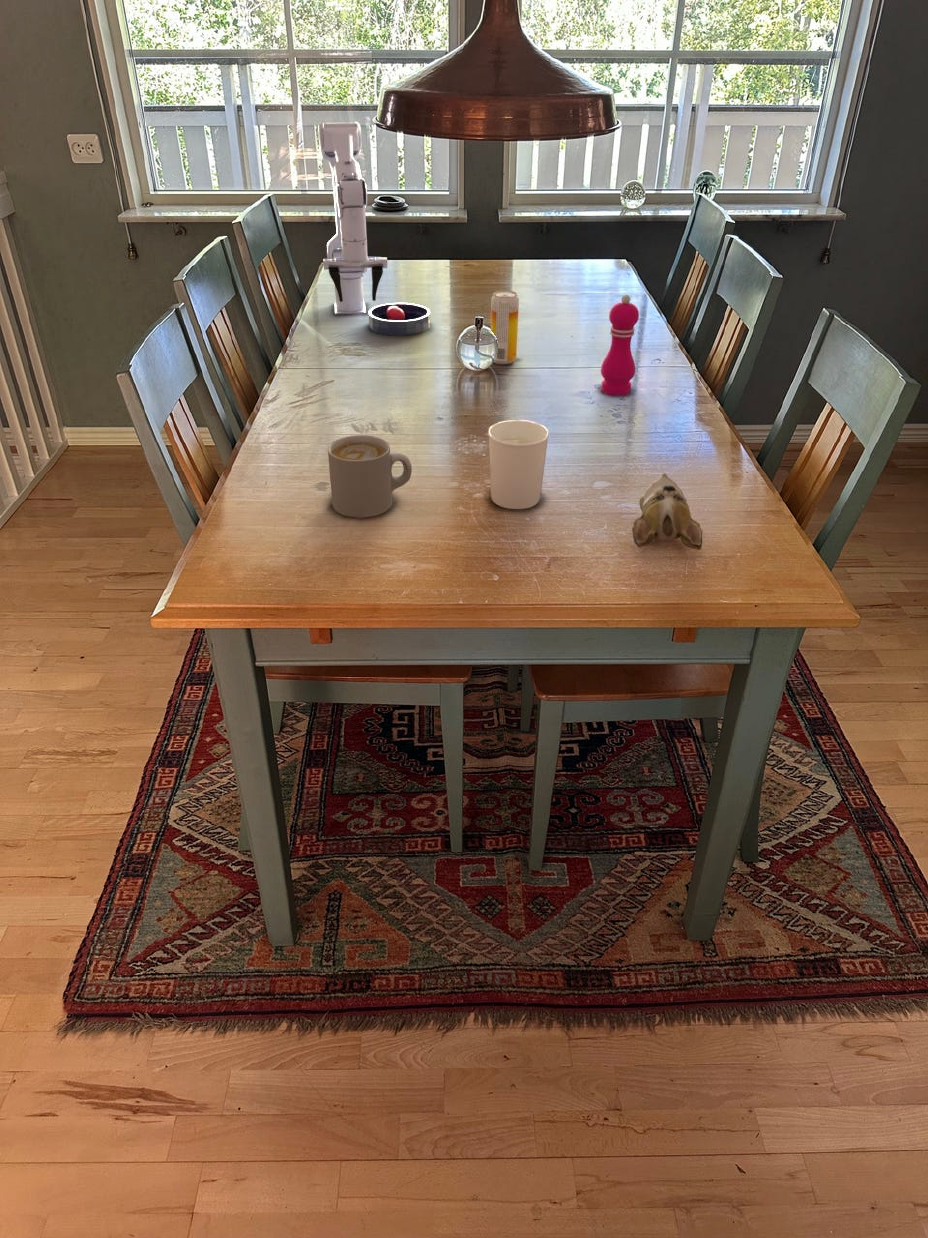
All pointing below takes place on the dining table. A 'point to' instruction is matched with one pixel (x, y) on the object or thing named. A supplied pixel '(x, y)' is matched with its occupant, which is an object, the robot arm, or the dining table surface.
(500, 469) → the white cup
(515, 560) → the dining table surface
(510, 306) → the beer can
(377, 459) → the coffee mug
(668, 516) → the ceramic sculpture
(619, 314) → the pepper mill
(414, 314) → the bowl
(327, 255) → the robot arm
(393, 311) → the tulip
